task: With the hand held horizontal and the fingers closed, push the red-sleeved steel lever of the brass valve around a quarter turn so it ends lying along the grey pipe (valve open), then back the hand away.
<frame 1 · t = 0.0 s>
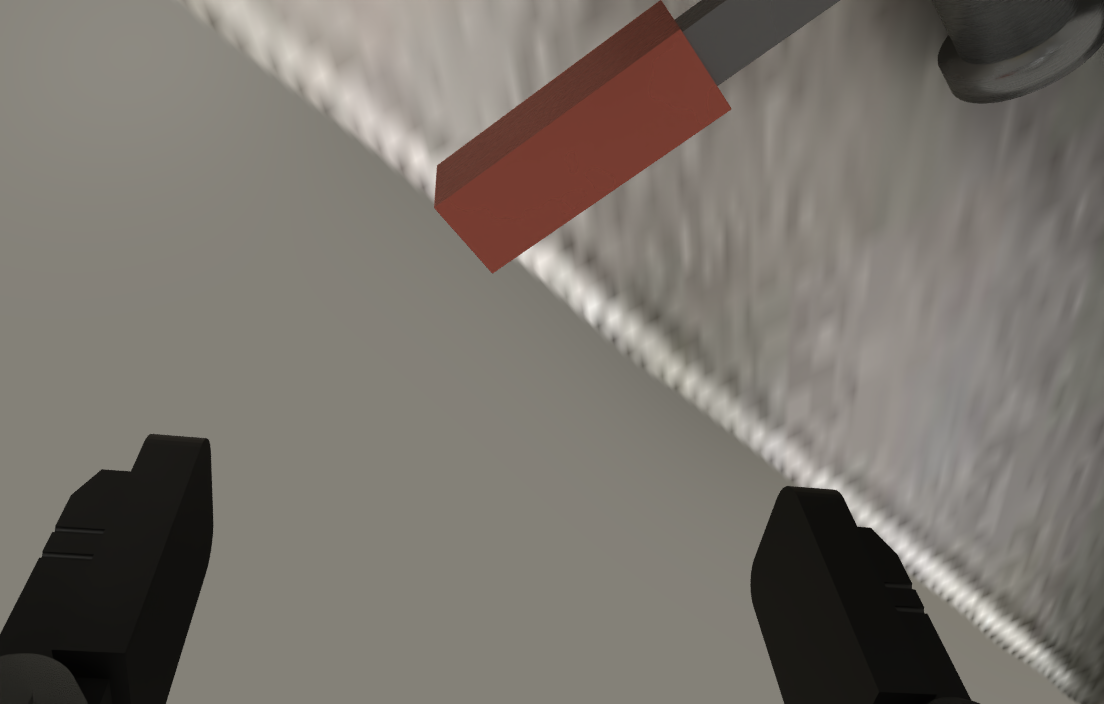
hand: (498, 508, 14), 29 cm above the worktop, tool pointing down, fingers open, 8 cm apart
lever: (759, 7, 26), point 13 cm above the worktop, hinge at 0.0°
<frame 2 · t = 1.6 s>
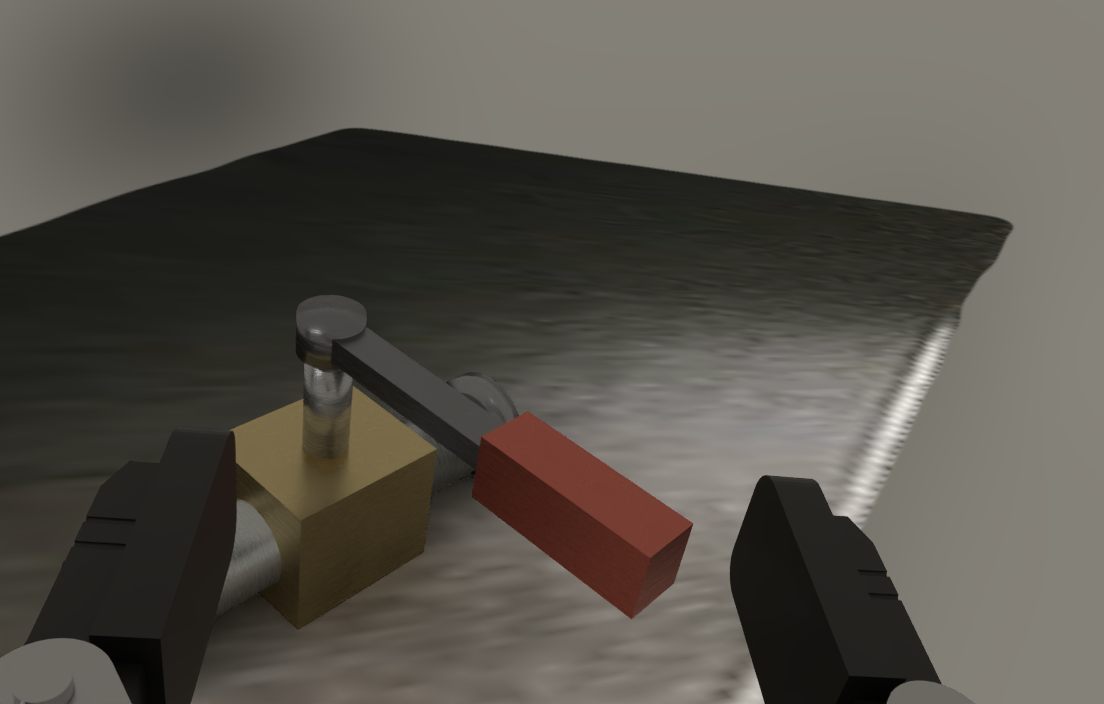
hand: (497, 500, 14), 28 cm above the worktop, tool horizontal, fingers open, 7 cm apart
valve: (320, 548, 50), on the worktop
lever: (464, 428, 39), point 13 cm above the worktop, hinge at 0.0°
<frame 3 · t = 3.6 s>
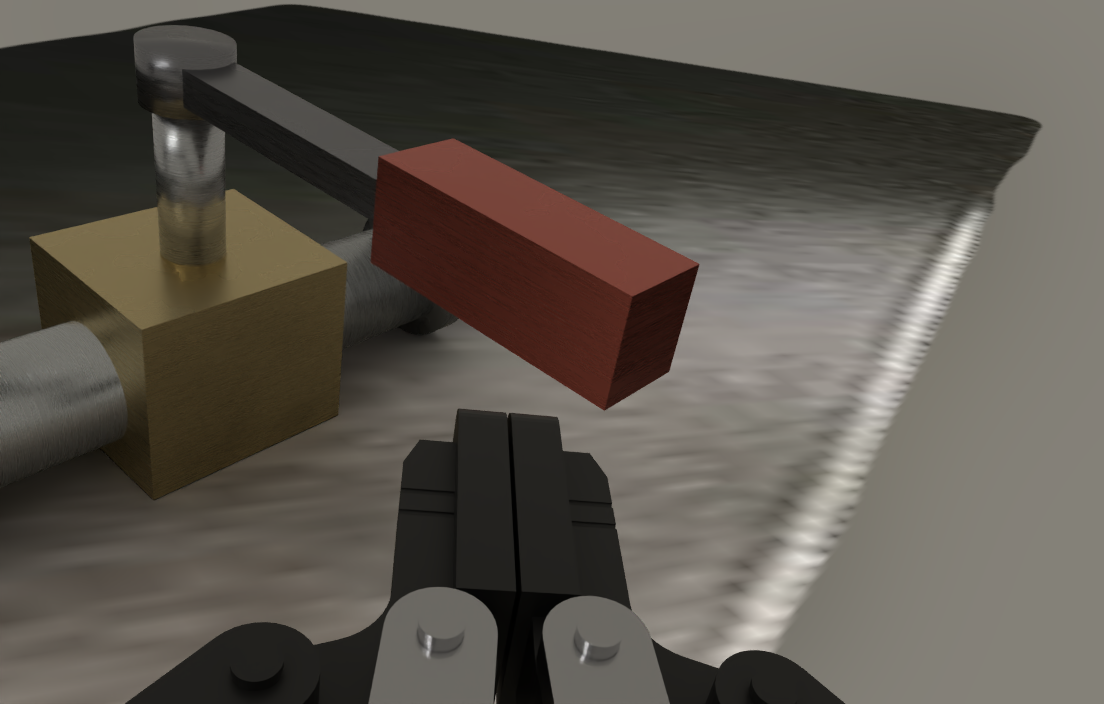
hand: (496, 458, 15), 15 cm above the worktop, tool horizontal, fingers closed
valve: (199, 408, 38), on the worktop
lever: (362, 172, 27), point 13 cm above the worktop, hinge at 0.0°
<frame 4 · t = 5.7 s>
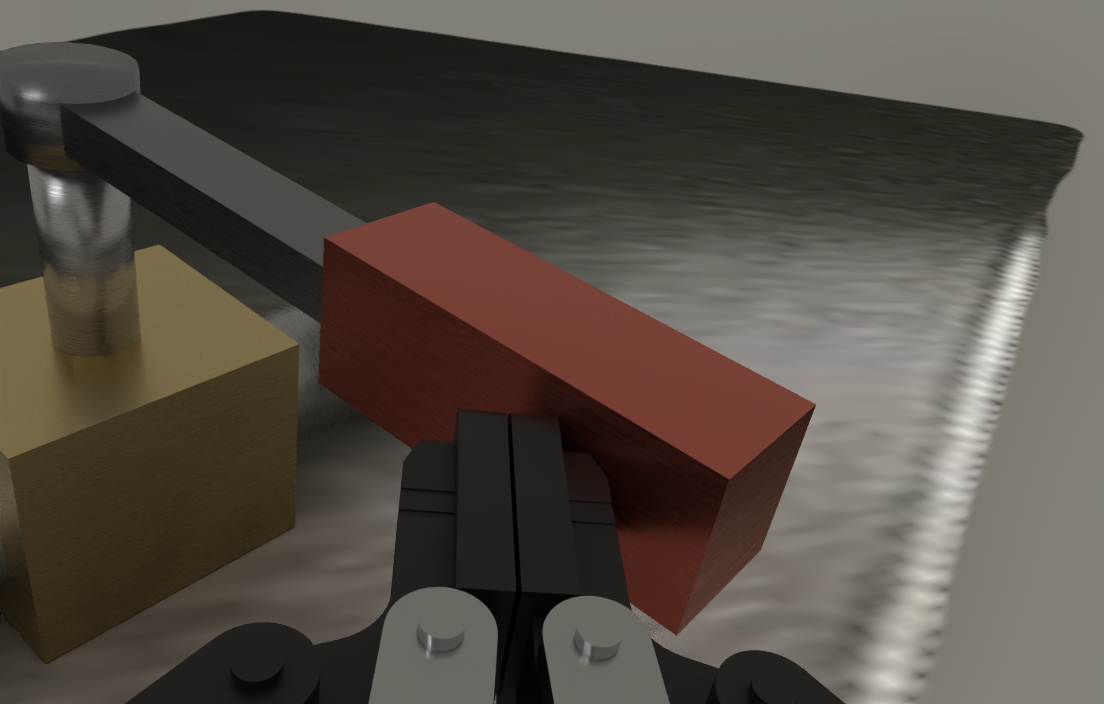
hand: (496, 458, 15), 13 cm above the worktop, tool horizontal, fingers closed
valve: (117, 523, 30), on the worktop
lever: (306, 248, 19), point 13 cm above the worktop, hinge at 1.0°, touching gripper
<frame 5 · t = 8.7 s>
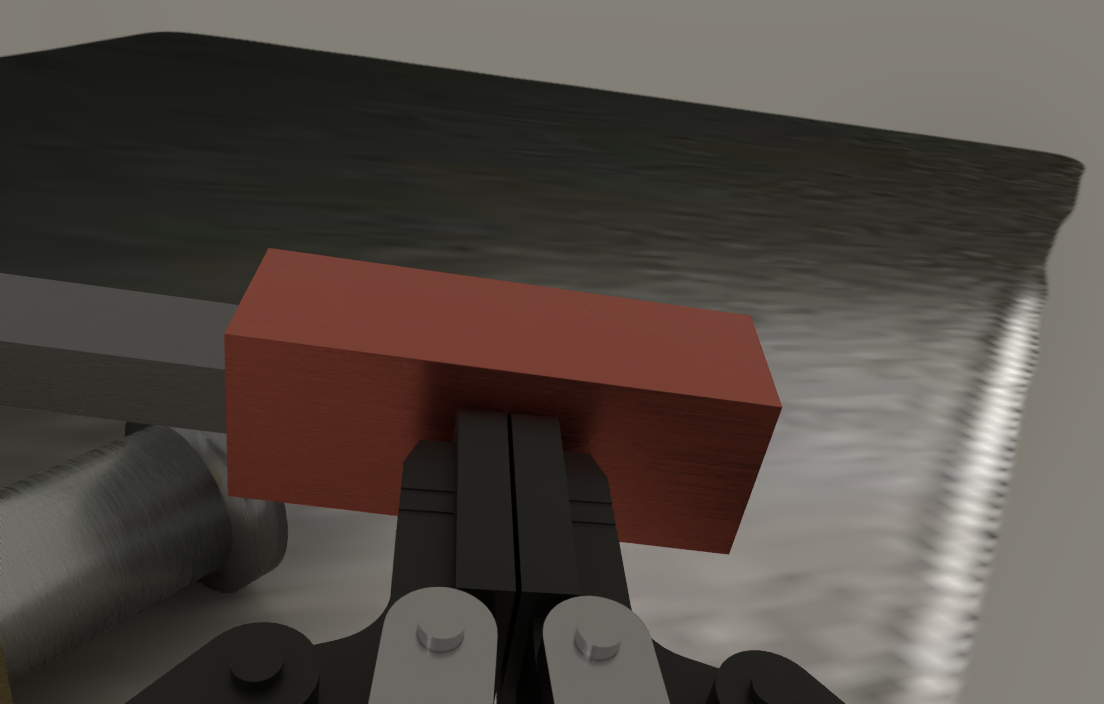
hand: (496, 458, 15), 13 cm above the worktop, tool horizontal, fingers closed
lever: (118, 353, 15), point 13 cm above the worktop, hinge at 40.1°, touching gripper
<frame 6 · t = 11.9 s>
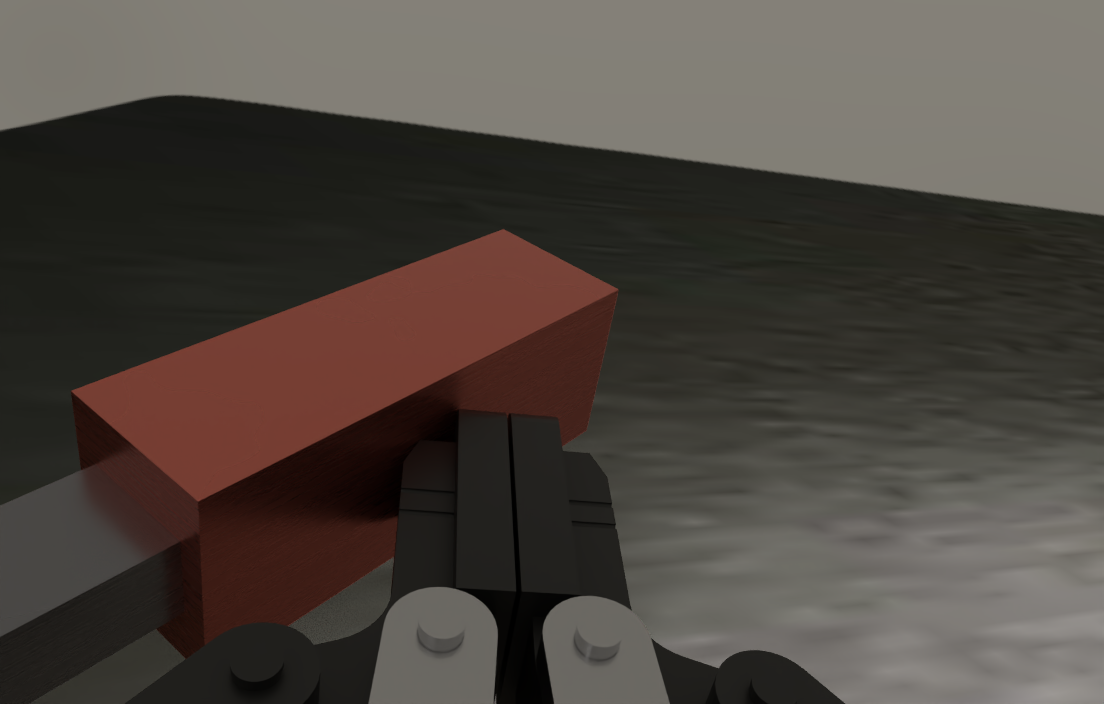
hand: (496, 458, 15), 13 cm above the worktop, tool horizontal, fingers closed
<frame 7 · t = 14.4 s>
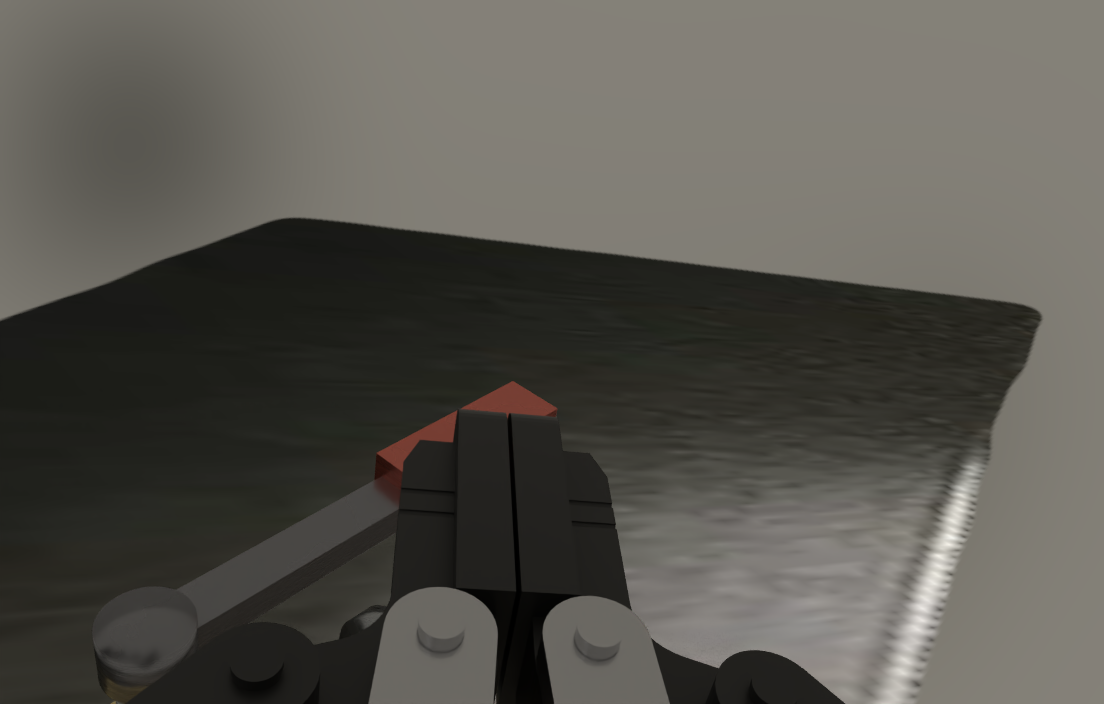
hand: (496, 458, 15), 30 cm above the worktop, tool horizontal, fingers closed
lever: (357, 522, 37), point 13 cm above the worktop, hinge at 91.3°
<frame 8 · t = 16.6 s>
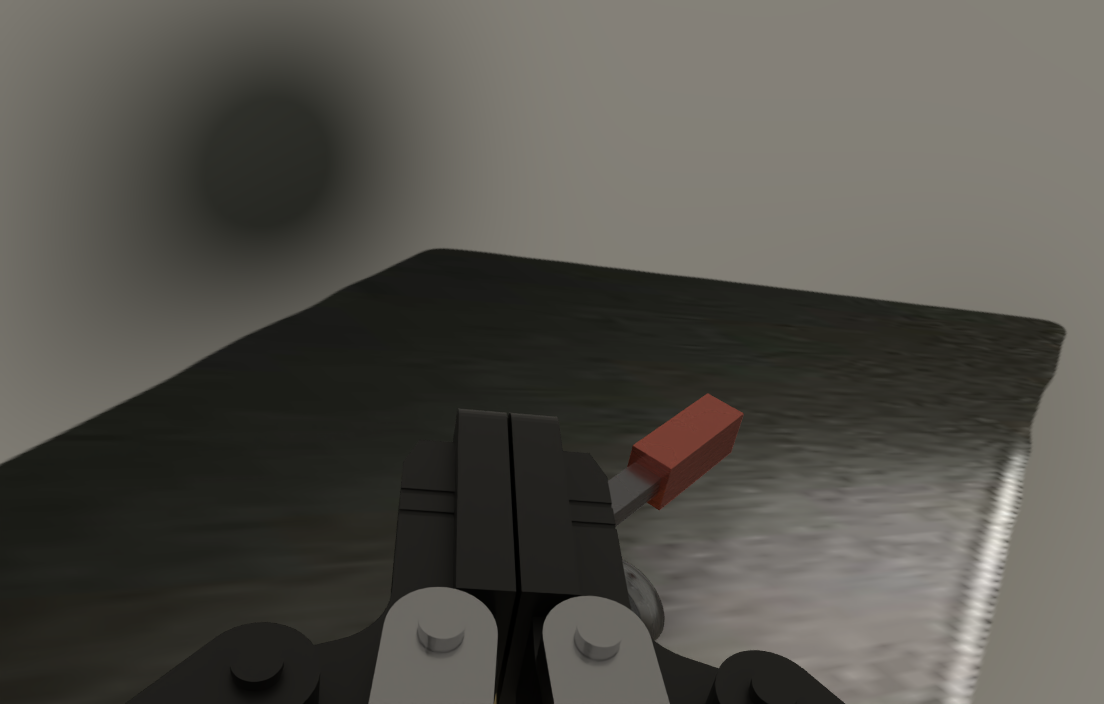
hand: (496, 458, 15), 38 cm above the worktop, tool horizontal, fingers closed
lever: (625, 493, 53), point 13 cm above the worktop, hinge at 91.3°
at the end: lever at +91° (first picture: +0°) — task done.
